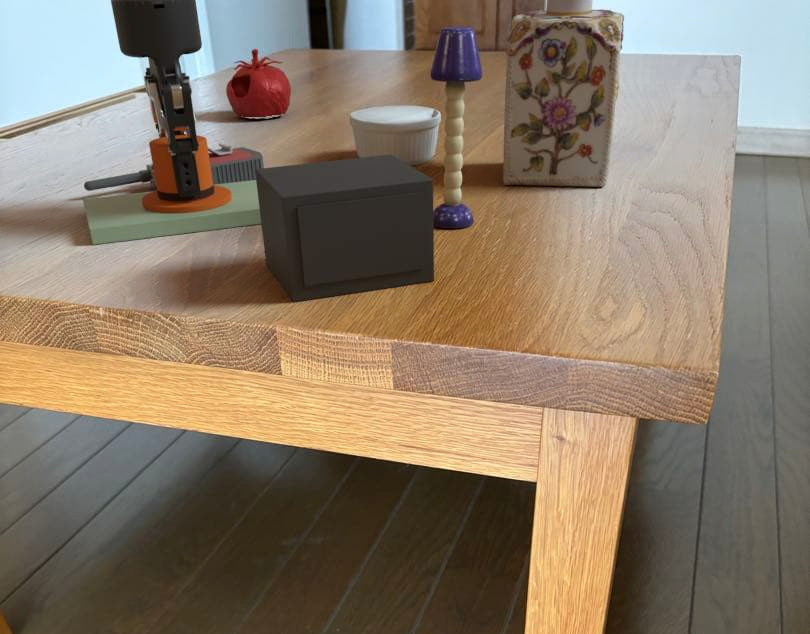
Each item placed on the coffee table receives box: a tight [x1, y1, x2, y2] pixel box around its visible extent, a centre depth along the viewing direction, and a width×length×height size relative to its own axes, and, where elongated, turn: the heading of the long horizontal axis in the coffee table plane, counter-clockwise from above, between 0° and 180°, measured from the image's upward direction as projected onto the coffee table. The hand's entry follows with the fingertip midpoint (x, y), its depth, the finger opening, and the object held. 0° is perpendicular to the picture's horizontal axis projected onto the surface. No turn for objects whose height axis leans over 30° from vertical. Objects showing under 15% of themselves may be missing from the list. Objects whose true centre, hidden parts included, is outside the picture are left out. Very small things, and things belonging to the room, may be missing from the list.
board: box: [82, 180, 261, 246], centre depth 91 cm, size 20×12×2 cm, turn 110°
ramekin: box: [349, 105, 442, 167], centre depth 109 cm, size 11×11×5 cm
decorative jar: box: [502, 0, 625, 188], centre depth 96 cm, size 12×12×18 cm
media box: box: [255, 155, 435, 303], centre depth 73 cm, size 12×10×8 cm
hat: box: [142, 134, 232, 213], centre depth 89 cm, size 9×9×6 cm
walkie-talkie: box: [83, 142, 265, 192], centre depth 100 cm, size 9×4×20 cm
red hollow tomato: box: [225, 48, 292, 117], centre depth 135 cm, size 10×10×9 cm
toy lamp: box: [430, 26, 483, 229], centre depth 82 cm, size 5×5×17 cm
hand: (185, 187), depth 90 cm, fingers closed on hat, 5 cm apart
